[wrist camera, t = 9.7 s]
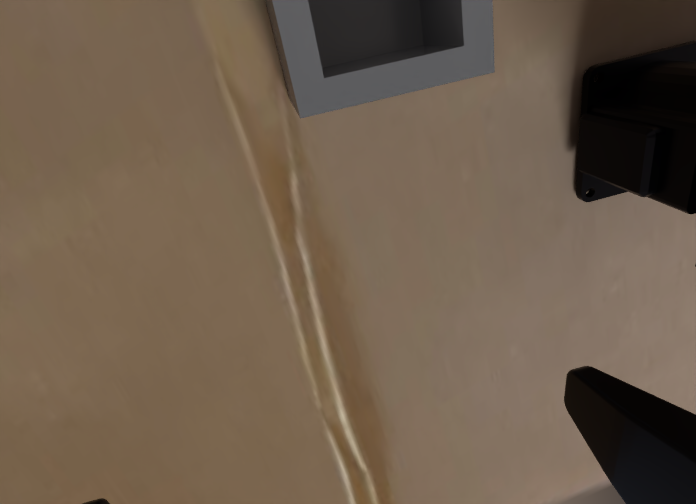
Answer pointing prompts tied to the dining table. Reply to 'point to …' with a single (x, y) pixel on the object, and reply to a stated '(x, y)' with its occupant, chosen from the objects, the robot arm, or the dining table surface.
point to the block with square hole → (377, 48)
